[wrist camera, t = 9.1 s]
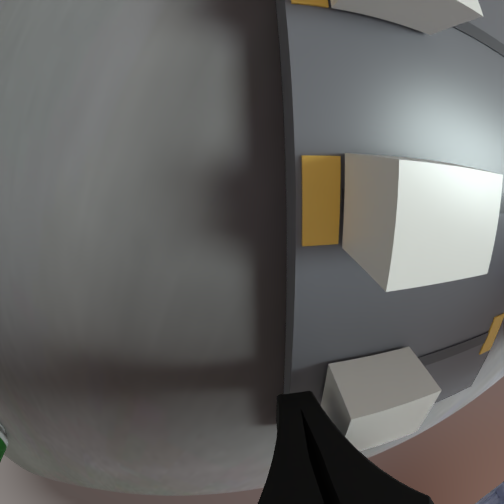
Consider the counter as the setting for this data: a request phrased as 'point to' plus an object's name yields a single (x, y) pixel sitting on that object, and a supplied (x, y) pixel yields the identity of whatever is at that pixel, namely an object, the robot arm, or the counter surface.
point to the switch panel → (389, 144)
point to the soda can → (2, 441)
